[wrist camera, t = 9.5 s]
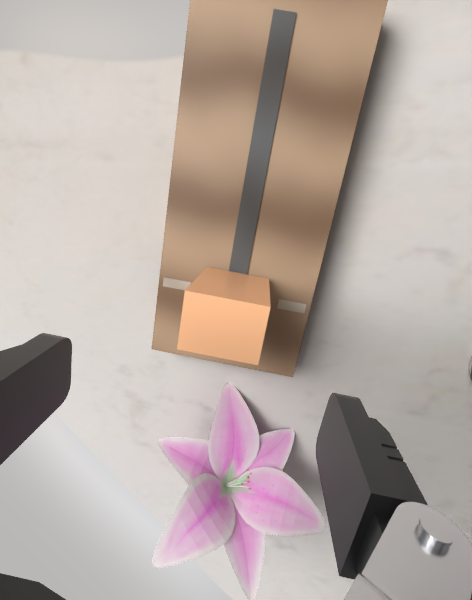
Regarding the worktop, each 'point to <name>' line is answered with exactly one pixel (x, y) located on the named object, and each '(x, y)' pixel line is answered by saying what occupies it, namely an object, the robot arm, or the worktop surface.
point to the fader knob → (225, 315)
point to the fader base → (262, 154)
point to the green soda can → (470, 368)
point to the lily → (234, 493)
